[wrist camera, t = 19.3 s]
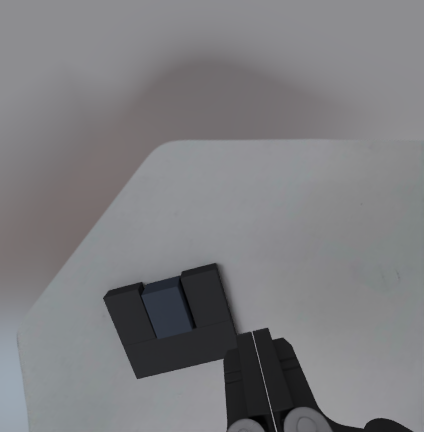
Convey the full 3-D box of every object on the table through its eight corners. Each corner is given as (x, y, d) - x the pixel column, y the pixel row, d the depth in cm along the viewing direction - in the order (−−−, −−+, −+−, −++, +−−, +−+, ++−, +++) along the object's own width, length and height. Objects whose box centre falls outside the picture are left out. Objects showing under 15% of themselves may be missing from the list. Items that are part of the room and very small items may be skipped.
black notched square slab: (108, 290, 35) (102, 298, 33) (215, 262, 34) (216, 268, 32) (140, 368, 38) (136, 379, 36) (239, 344, 37) (241, 354, 35)
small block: (146, 284, 35) (141, 295, 32) (180, 275, 35) (177, 286, 32) (161, 325, 36) (157, 339, 34) (193, 317, 36) (192, 330, 33)
